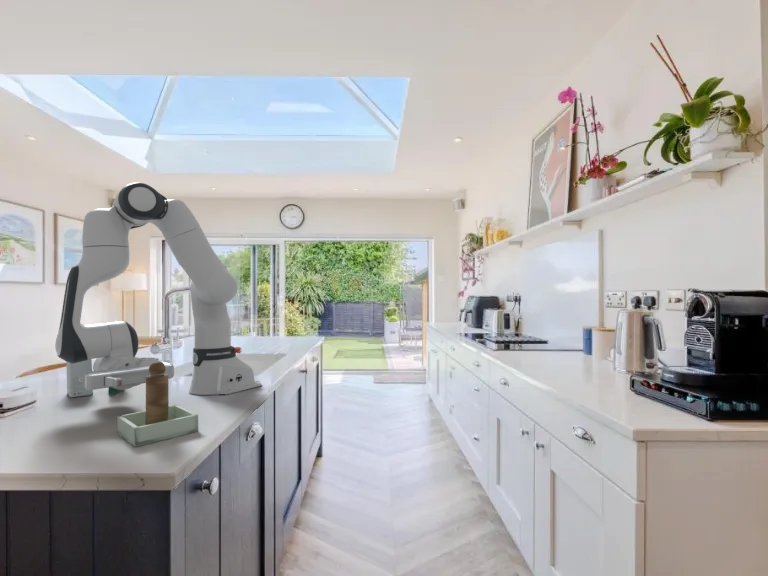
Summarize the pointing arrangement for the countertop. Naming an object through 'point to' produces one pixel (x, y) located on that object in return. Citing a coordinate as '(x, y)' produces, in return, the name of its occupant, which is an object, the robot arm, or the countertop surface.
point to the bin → (156, 426)
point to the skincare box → (73, 376)
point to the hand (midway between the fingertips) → (140, 379)
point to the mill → (156, 394)
